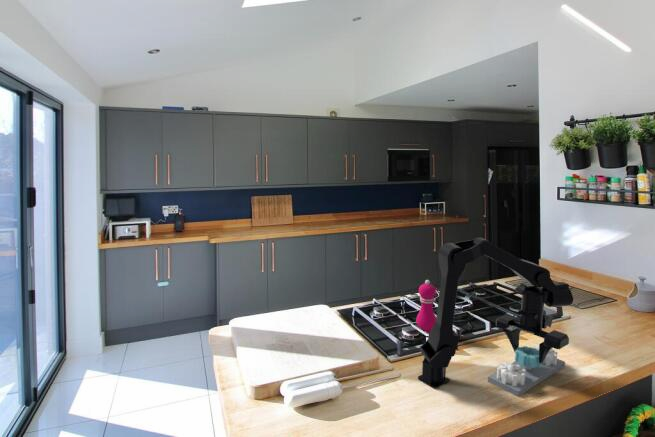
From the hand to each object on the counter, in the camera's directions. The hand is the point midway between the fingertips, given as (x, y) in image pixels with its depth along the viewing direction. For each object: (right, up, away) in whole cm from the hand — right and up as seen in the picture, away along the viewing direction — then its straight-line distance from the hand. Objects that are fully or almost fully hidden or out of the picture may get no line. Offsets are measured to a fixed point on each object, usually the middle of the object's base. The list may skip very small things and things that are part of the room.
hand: (528, 357), depth 117 cm
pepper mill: (-23, -1, +28) cm, 36 cm away
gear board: (0, -5, +1) cm, 5 cm away
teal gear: (0, -1, 0) cm, 1 cm away
